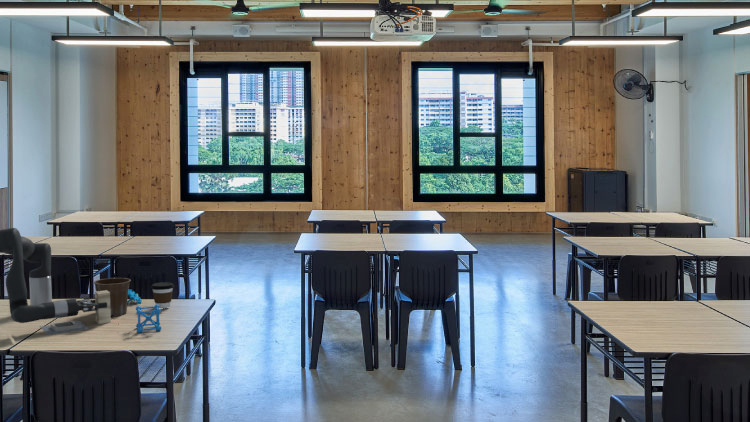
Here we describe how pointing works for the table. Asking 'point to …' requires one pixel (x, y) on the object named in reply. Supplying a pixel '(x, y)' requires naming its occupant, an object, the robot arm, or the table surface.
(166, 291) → the coffee cup
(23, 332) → the table surface
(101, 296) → the maple block
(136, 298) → the gear
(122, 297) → the plant pot
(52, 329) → the puzzle board
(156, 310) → the molecular structure
